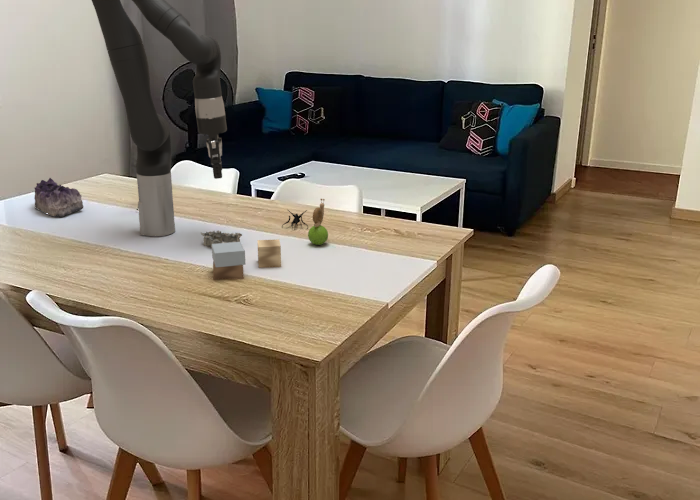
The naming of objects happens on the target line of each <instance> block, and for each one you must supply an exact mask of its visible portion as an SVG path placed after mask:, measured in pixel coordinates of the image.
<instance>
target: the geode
mask: <svg viewBox="0 0 700 500" xmlns="http://www.w3.org/2000/svg"><path fill="white" fill-rule="evenodd" d="M35 207H36V208H37V209H36V208H35ZM34 208H35V209H36V210H38V209H39V211H40V210H41V211H40V212H42V211H43V212H42V213H44V212H45V213H48V214H47V215H48V216H52V217H59V218H63V217H65V216H67V215H70V214H72V213H75V212H78V211H81V210H84V205H83V199H82V194H81V193H80V191H79V190H78V189H77V188H69V187H68V186H66V187H65V186H64V185H62V184H59V185H58V183H57V182H56V181H55V180H53V179H52V177H49V179H48V180H47V181H46V180H45V179H44V180H43V179H41V180H40V182H37V183H36V186H35V187H34ZM45 213H44V214H45Z"/></svg>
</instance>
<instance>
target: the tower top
mask: <svg viewBox="0 0 700 500" xmlns="http://www.w3.org/2000/svg"><path fill="white" fill-rule="evenodd" d="M211 254H212V255H211V257H212V260H213V261H214V264H215V267H225V266H236V265H243V266H244V265H246V251H245V248H244V246H243V244H242V241H240V242H231V243H219V244H212V248H211Z"/></svg>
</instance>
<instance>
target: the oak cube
mask: <svg viewBox="0 0 700 500" xmlns="http://www.w3.org/2000/svg"><path fill="white" fill-rule="evenodd" d="M281 248H282V247H281V242H280V238H279V239H257V260H258V262H257V263H258V264H257V265H258V268H259V269H262V268H269V269H270V268H282V252H281V251H282V249H281Z"/></svg>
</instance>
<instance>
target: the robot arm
mask: <svg viewBox="0 0 700 500" xmlns="http://www.w3.org/2000/svg"><path fill="white" fill-rule="evenodd" d="M131 1H132V2H133V4H134V5H135V6H137V8H138V10H139V11H140V13H141V15H143V17H144V18H145V20H146V21H147V22H148V23H149V24H150V25H151V26H152V27H153V28H154V29H155V30H157V31H158V32H159V33H161V34H162V35H163V36H164V37H165V38H166V39H168V40H169V41H170V42H171V43H172V44H173V46H174V47H175V49H176V50H177V51H178V52H179V53H180V54H181V55H182V57H184V59H186V60H187V61H188V62H190V64H193V65H195V66H196V69H195V71H196V74H195V76H194V77H193V79H192V87H193V93H194V106H195V107H194V110H195V116H196V124H197V130H198V133H199V134H200V135H207V136H208V138H207V139H206V141H205V142H206V148H207V152H208V153H207V154H208V157H209V158H210V165H211V166H212V172H213V173H212V174H213V178H214V180H215V179H216V180H217V179H223V172H222V171H223V166H222V165H223V163H222V158H221V157H222V156H223V141H222V137H220V134H224V133H226V132H227V131H228V126H227V120H226V119H227V117H226V111H225V110H226V109H225V102H224V100H223V96H222V95H223V93H222V86H221V84H222V83H221V78H220V77H221V64H222V56H221V54H222V53H221V47H220V45H219V43H218V41H217V40H216V38H214V37H213V36H211V35H208V34H204V35H200V34H198V33H197V32H196V31H195V30H194V28H192V27H191V23H190V21H189V20H188V18H187V17H186V16H184V15H183V14H182V13H181V12H180V11H178V9H176V8H175V7H174V6H172V4H170V3H169V2H167V0H131ZM91 2H92V5H93V8H94V10H95V13H96V16H97V21H98V23H99V27H100V29H101V33H102V36H103V40H104V43H105V47H106V51H107V54H108V58H109V61H110V64H111V68H112V70H113V73H114V76H115V79H116V82H117V86H118V89H119V91H120V94H121V97H122V99H123V103H124V107H125V113H126V118H127V122H128V129H129V134H130V138H131V140H132V142H133V143H134V144H135V145H136V151H137V154H136V162H135V171H136V182H137V194H138V201H137V209H138V211H139V213H138V219H139V220H138V221H139V232H140V236H147V237H163V236H169V235H172V234H174V233H175V232H176V227H175V226H176V223H175V210H174V209H175V208H174V196H173V183H172V181H173V180H172V169H171V168H172V167H171V165H172V146H171V145H172V142H171V130H170V125H169V123H168V121H167V120H166V118H165V117H164V116H162V115H161V114H159V113H158V112H157V109H156V108H155V103H154V100H153V98H152V92H151V81H150V80H151V79H150V69H149V62H148V56H147V52H146V49H145V46H144V43H143V40H142V37H141V34H140V32H139V31H138V29H137V27H136V26H135V24H134V23H133V20H131V18H130V17H129V16H128V14H127V12H126V11H125V8H124V6H123V5H122V2H121V0H91Z"/></svg>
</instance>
